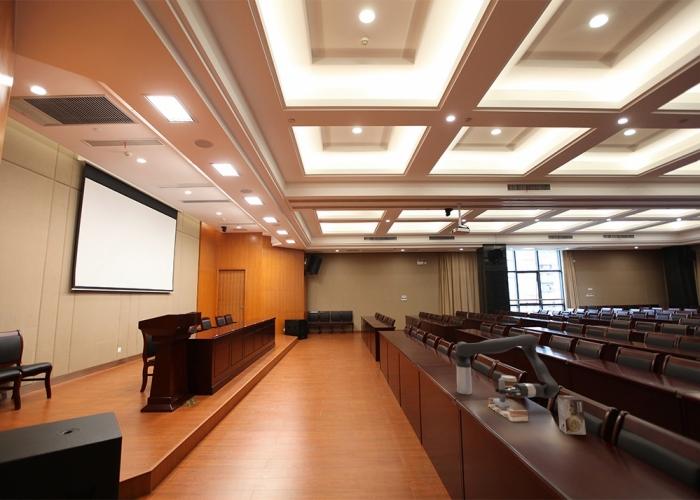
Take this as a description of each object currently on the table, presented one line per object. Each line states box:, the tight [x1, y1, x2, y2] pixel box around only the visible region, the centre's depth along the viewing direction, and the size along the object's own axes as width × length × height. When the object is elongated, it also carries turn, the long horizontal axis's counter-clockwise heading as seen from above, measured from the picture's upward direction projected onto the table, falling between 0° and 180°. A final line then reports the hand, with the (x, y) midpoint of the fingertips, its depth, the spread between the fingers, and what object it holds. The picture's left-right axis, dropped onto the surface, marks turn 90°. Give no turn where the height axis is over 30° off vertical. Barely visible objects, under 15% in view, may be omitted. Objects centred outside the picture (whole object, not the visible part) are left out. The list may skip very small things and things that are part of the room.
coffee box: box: [556, 394, 587, 436], centre depth 158 cm, size 9×6×16 cm
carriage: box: [493, 378, 514, 409], centre depth 185 cm, size 8×7×15 cm
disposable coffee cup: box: [500, 374, 517, 398], centre depth 214 cm, size 10×10×12 cm
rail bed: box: [487, 397, 529, 422], centre depth 181 cm, size 22×9×5 cm, turn 8°
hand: (497, 391), depth 185 cm, fingers closed on carriage, 3 cm apart
